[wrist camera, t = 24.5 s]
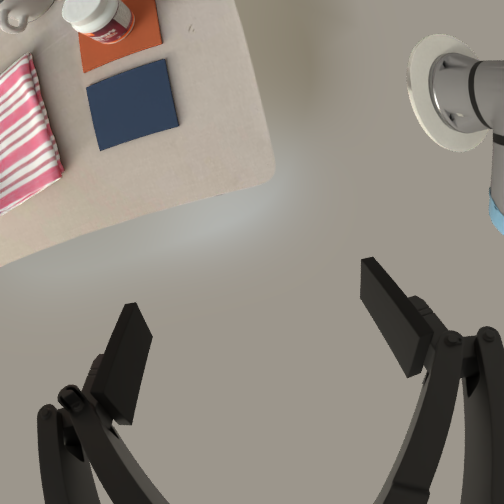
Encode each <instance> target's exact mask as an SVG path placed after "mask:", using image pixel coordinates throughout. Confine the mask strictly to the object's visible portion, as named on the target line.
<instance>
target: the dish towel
mask: <svg viewBox="0 0 504 504" xmlns="http://www.w3.org/2000/svg"><path fill="white" fill-rule="evenodd" d="M64 171H65V170H64V168H63V166H62V164H61V162H60V156H59V152H58V147H57V144H56V141H55V138H54V135H53V133H52V130H51V128H50V124H49V119H48V116H47V111H46V108H45V106H44V101H43V99H42V96H41V92H40V85H39V80H38V76H37V72H36V69H35V66H34V64H33V59H32V54H31V53H29V52H28V53H26V54H25V55H23V56H22V57H21V58H20V59H18V60H17V61H16V62H15V63H13V64H12V65H11V66H10V67H9V68H8V69H7V70H5V71H4V72H3V73H2V74H1V75H0V216H2V215H3V214H6V213H7V212H8V211H10V210H12V209H13V208H15V207H17V206H18V205H20V204H21V203H23V202H24V201H26V200H27V199H29V198H31V197H32V196H34V195H36V194H37V193H39V192H40V191H42V190H44V189H45V188H46V187H48V186H49V185H51V184H53V183H54V182H55V181H57V180H58V179H60V178H62V175H61V174H62V173H63V172H64Z"/></svg>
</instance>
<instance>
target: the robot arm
mask: <svg viewBox="0 0 504 504" xmlns="http://www.w3.org/2000/svg"><path fill="white" fill-rule="evenodd" d="M428 87H429V94H430V98H431V101H432V104H433V107H434V109H435V111H436V113H437V115H438V116H439V118H440V119H441V120H442V122H443V123H444V124H445V125H446V126H448V127H449V128H450V129H452V130H454V131H457V132H461V133H474V132H478V131H482V130H486V129H493V157H492V175H491V187H490V188H489V196H490V202H489V215H490V217H491V221H492V223H493V224H494V226H495V227H496V228H497V229H498V230H499V231H500V232H501V233H502V234H503V235H504V61H479V60H476V59H474V58H471V57H468V56H465V55H462V54H459V53H445V54H442V55H440V56H438V57H437V58H436V59H435V60H434V61H433V63H432V65H431V67H430V71H429V77H428ZM360 299H361V300H362V302H363V303H364V305H365V307H366V308H367V310H368V311H369V313H370V315H371V316H372V318H373V320H374V321H375V323H376V325H377V326H378V328H379V330H380V331H381V333H382V335H383V336H384V338H385V340H386V341H387V343H388V345H389V347H390V348H391V350H392V352H393V353H394V355H395V357H396V359H397V361H398V362H399V364H400V366H401V368H402V369H403V371H404V373H405V375H406V377H407V378H409V377H412V376H414V375H417V374H419V373H421V371H422V368H423V365H424V366H425V368H426V370H427V373H426V375H425V378H424V381H423V387H422V390H421V393H420V396H419V400H418V403H417V406H416V409H415V412H414V415H413V418H412V420H411V423H410V426H409V429H408V431H407V434H406V437H405V439H404V442H403V444H402V447H401V449H400V451H399V454H398V456H397V458H396V461H395V463H394V465H393V467H392V470H391V471H390V474H389V476H388V478H387V480H386V482H385V484H384V486H383V488H382V490H381V492H380V493H379V495H378V497H377V499H376V500H375V502H374V503H373V504H427V502H428V499H429V495H430V492H429V488H430V485H431V482H432V480H433V477H434V474H435V472H436V469H437V466H438V463H439V460H440V457H441V454H442V451H443V448H444V445H445V441H446V438H447V434H448V431H449V427H450V423H451V419H452V415H453V411H454V406H455V401H456V397H457V391H458V386H459V380H460V378H462V384H463V395H464V413H465V459H464V475H463V486H462V495H461V503H460V504H504V348H503V345H502V341H501V337H500V335H499V333H498V331H497V330H496V329H494V328H492V327H488V326H486V327H482V328H480V329H479V331H478V333H477V335H476V336H468V337H462V335H461V334H459V333H458V332H455V331H450V330H448V329H447V328H446V327H445V326H444V324H443V323H442V322H441V321H440V319H439V318H438V317H437V316H436V314H435V313H433V311H432V310H431V308H429V306H428V305H427V304H426V302H425V301H424V300H423V299H421V298H419V297H417V296H412V297H409V298H407V296H406V295H405V294H404V293H403V291H402V290H401V289H400V288H399V287H398V285H397V284H396V283H395V282H394V281H393V280H392V278H391V277H390V276H389V275H388V274H387V273H386V271H385V270H384V269H383V268H382V266H381V265H380V264H379V263H378V262H377V261H376V260H375V258H374V257H370V258H365V259H361V288H360ZM152 338H153V336H152V334H151V332H150V330H149V328H148V326H147V324H146V322H145V320H144V318H143V316H142V314H141V312H140V310H139V308H138V305H137V303H136V302H135V303H129V304H125V305H124V308H123V310H122V312H121V314H120V317H119V319H118V321H117V323H116V326H115V328H114V330H113V333H112V335H111V338H110V340H109V343H108V345H107V347H106V350H105V353H104V354H99V355H98V356H97V358H96V359H95V360H94V361H93V364H92V366H91V368H90V369H91V370H90V371H89V373H88V376H87V378H86V381H85V384H84V386H83V389H82V391H80V390H79V388H78V387H77V386H76V385H68V386H66V387H64V388H63V389H62V390H61V391H60V392H59V394H58V402H59V403H60V404H61V405H62V406H63V407H64V408H62V409H58V410H57V409H56V408H55V407H54V406H53V405H51V404H47V405H44V406H43V407H42V408H41V409H40V410H39V412H38V415H37V432H38V451H39V463H40V473H41V480H42V488H43V493H44V500H45V504H100V500H99V497H98V494H97V490H96V487H95V483H94V479H93V475H92V471H91V467H90V463H91V465H92V467H93V469H94V471H95V472H96V474H97V476H98V478H99V480H100V482H101V483H102V485H103V487H104V489H105V490H106V492H107V494H108V495H109V497H110V499H111V500H112V502H113V503H114V504H169V503H168V502H167V500H166V499H165V498H164V497H163V496H162V494H161V493H160V492H159V491H158V489H157V488H156V487H155V486H154V484H153V483H152V482H151V481H150V479H149V478H148V477H147V475H146V474H145V473H144V471H143V470H142V469H141V467H140V466H139V464H138V463H137V461H136V460H135V459H134V457H133V456H132V454H131V453H130V451H129V450H128V448H127V447H126V445H125V444H124V442H123V441H122V439H121V437H120V436H119V434H118V433H117V431H116V429H115V428H114V427H113V426H112V421H113V419H114V420H115V421H116V422H117V423H118V424H119V425H132V422H133V417H134V412H135V408H136V403H137V399H138V394H139V390H140V385H141V381H142V377H143V373H144V369H145V365H146V361H147V357H148V353H149V349H150V345H151V342H152ZM89 461H90V463H89Z"/></svg>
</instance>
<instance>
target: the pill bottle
mask: <svg viewBox="0 0 504 504" xmlns="http://www.w3.org/2000/svg"><path fill="white" fill-rule="evenodd" d="M62 16H63V18H64V19H65V20H66V21H67V22H69V23H71V25H72V27H73V28H74V29H75V30H76V31H78V32H80V33H82V34H84V35H86V36H88V37H90V38H92V39H94V40H97V41H99V42H101V43H104V44H113V43H116V42H119V41H121V40H122V39H124V38H125V37H126V36H127V35H128V34H129V33H130V31H131V30H132V28H133V26H134V21H135V18H134V14H133V12H132V11H131V10H130V9H129V8H128V7H127V6H126V5H125V4H124V3H123V2H122V1H121V0H66V1H65V3H64V5H63V8H62Z"/></svg>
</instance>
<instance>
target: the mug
mask: <svg viewBox="0 0 504 504" xmlns="http://www.w3.org/2000/svg"><path fill="white" fill-rule="evenodd" d="M53 1H54V0H0V29H1V30H3V31H4V32H7V33H10V34H17V33H20V32H22V31H24V30H25V28H26V26H27V22H31V21H34V20H36V19H37V18H39V17H40V16H41V15H43V14H44V13H45V12H46V11H47V10H48V8H49V7H50V6H51V4H52V3H53ZM8 18H12V19H15V20H18V21H19V26H18V27H14V26H12V25H10V24H9V22H8Z"/></svg>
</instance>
